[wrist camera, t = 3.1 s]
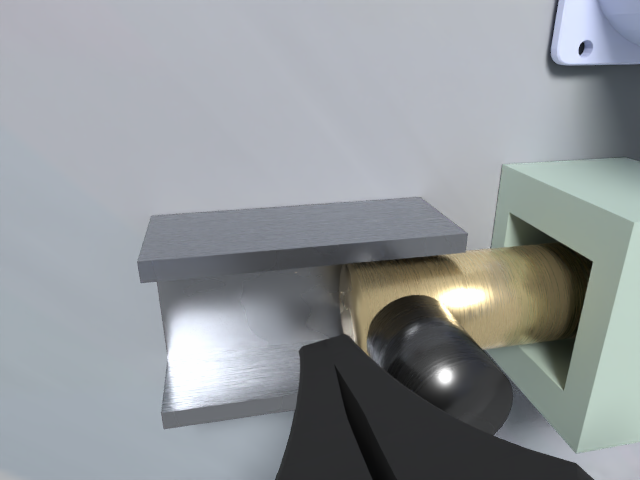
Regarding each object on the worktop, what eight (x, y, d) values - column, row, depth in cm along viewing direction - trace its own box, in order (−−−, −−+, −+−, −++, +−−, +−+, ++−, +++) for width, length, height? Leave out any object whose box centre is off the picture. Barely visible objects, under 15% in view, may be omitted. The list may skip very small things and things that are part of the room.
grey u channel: (420, 197, 17) (467, 233, 14) (410, 329, 19) (449, 387, 16) (151, 215, 16) (137, 261, 13) (171, 359, 18) (163, 429, 15)
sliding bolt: (583, 224, 18) (758, 313, 12) (566, 303, 19) (719, 416, 13) (339, 245, 16) (411, 360, 11) (338, 329, 17) (402, 473, 12)
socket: (625, 157, 19) (798, 208, 13) (585, 328, 21) (714, 428, 16) (502, 164, 18) (634, 222, 12) (478, 342, 20) (576, 453, 15)
